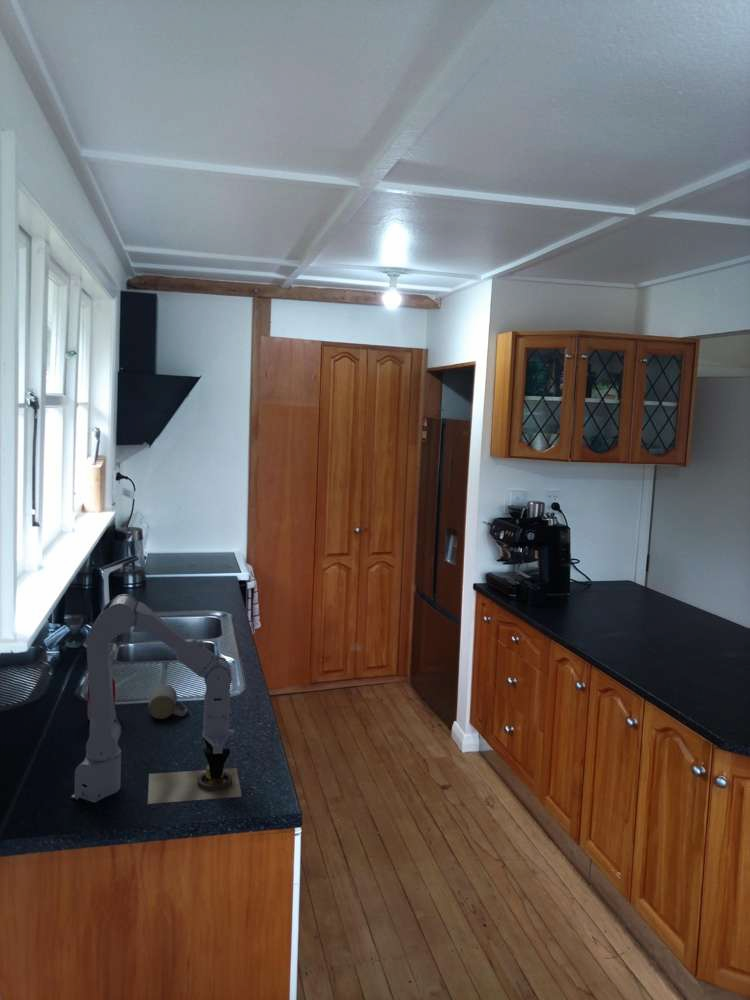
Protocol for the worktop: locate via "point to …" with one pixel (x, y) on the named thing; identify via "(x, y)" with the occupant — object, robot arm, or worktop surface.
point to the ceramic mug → (165, 702)
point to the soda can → (89, 698)
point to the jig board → (191, 786)
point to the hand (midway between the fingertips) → (214, 770)
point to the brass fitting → (213, 781)
